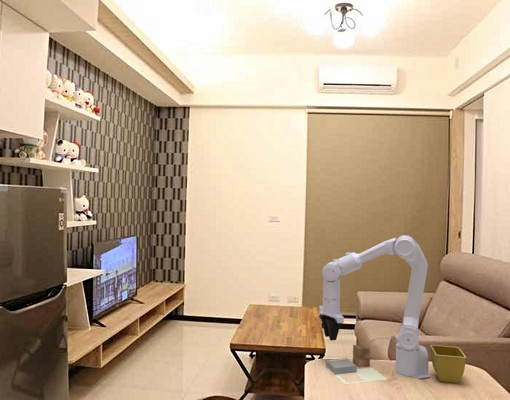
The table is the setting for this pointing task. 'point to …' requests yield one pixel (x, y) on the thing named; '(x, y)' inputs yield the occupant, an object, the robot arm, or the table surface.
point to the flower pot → (448, 362)
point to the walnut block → (361, 355)
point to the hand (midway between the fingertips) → (330, 338)
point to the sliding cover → (341, 366)
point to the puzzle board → (363, 375)
